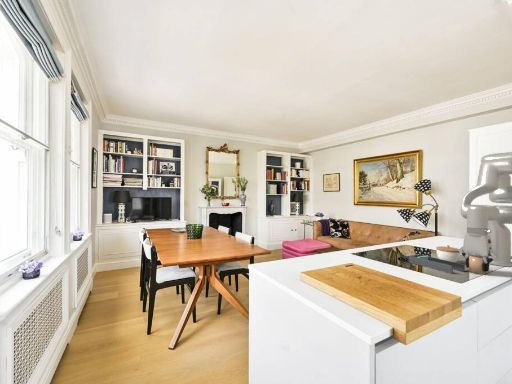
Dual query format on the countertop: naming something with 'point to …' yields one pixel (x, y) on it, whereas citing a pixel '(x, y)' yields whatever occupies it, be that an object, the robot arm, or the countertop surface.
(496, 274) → the countertop surface
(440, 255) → the lidded jar
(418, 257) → the pusher
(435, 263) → the lane
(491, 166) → the robot arm
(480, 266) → the jar
